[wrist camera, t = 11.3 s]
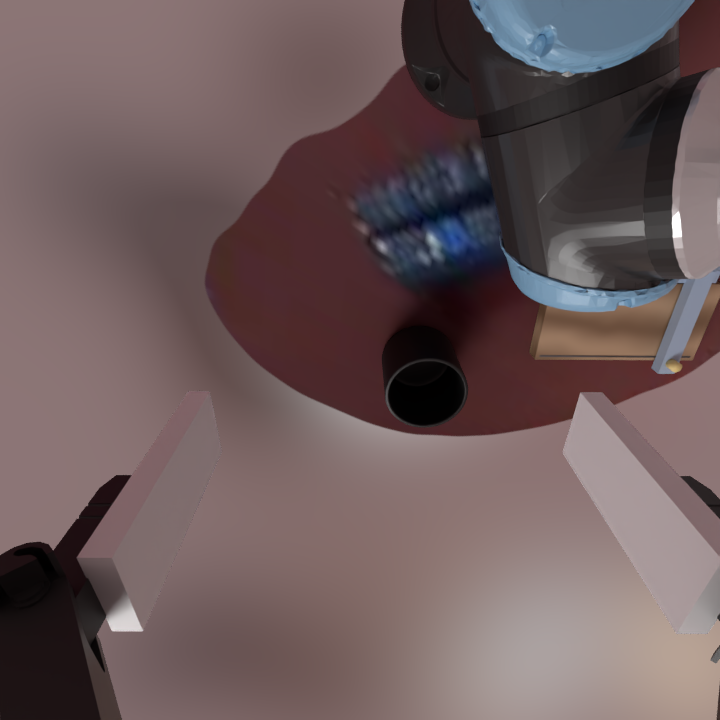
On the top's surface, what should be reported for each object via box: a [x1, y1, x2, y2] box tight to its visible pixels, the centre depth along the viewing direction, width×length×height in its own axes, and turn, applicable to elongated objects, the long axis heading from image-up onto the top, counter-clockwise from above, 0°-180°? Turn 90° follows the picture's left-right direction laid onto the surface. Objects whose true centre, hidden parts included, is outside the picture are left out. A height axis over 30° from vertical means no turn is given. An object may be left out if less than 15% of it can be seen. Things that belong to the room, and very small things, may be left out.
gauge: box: [652, 266, 720, 374], centre depth 46 cm, size 18×5×12 cm, turn 0°
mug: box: [382, 326, 468, 427], centre depth 52 cm, size 9×12×9 cm
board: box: [529, 281, 720, 360], centre depth 52 cm, size 10×20×2 cm, turn 90°
